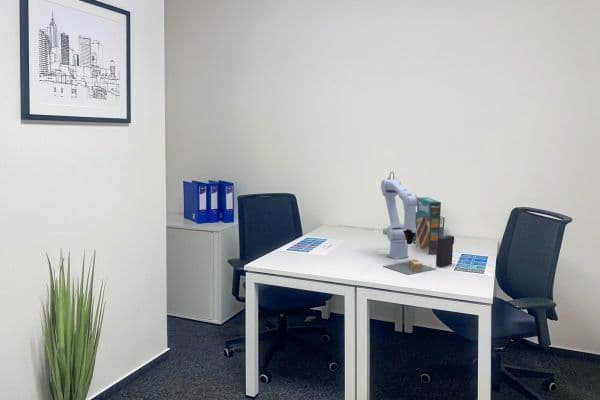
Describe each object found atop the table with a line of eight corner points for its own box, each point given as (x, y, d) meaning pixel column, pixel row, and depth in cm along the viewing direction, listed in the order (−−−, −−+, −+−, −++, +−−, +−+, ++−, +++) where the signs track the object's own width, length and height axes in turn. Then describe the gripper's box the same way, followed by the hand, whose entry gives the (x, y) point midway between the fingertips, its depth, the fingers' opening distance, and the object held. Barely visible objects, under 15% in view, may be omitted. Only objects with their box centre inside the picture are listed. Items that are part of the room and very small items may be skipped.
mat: (410, 261, 277) (410, 261, 277) (436, 269, 262) (436, 268, 262) (382, 266, 267) (382, 266, 267) (407, 274, 252) (407, 274, 252)
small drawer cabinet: (445, 262, 277) (447, 234, 275) (453, 264, 274) (454, 236, 272) (434, 266, 269) (436, 237, 267) (442, 267, 266) (443, 238, 264)
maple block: (408, 259, 264) (414, 263, 256) (416, 259, 264) (422, 263, 256) (408, 267, 264) (414, 271, 256) (416, 267, 265) (422, 271, 257)
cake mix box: (415, 246, 316) (417, 197, 312) (425, 246, 316) (427, 197, 312) (428, 254, 294) (430, 202, 290) (438, 254, 295) (440, 202, 291)
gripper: (397, 216, 277) (397, 241, 279) (407, 220, 263) (406, 247, 265) (410, 216, 279) (409, 241, 280) (420, 220, 264) (420, 246, 266)
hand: (409, 244), depth 272 cm, fingers closed
